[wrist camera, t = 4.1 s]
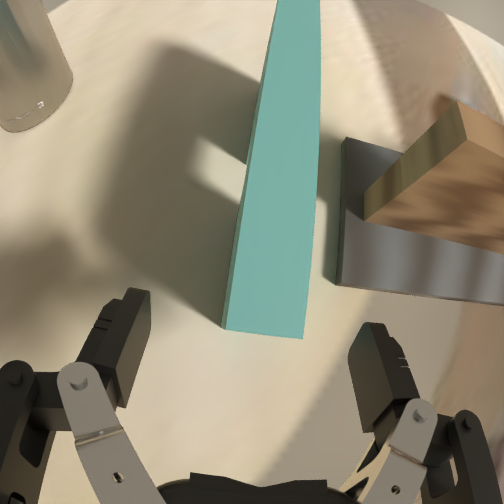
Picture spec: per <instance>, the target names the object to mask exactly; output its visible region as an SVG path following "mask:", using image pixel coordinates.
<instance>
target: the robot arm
mask: <svg viewBox="0 0 504 504" xmlns="http://www.w3.org/2000/svg"><path fill="white" fill-rule="evenodd" d="M72 81H73V74H72V71H71V69H70V67H69V65H68V63H67V60H66V58H65V56H64V54H63V51H62V49H61V46H60V44H59V42H58V39H57V37H56V35H55V32H54V30H53V28H52V25H51V23H50V20H49V18H48V15H47V13H46V10H45V8H44V5H43V3H42V0H0V125H1V126H2V127H3V128H4V129H5V130H7V131H10V132H20V131H24V130H27V129H29V128H31V127H34V126H35V125H37V124H39V123H40V122H42V121H43V120H45V119H46V118H47V117H48V116H50V115H51V114H52V113H53V112H54V111H55V110H56V109H57V108H58V107H59V106H60V104H61V103H62V102H63V101H64V99H65V98H66V96H67V94H68V93H69V91H70V88H71V86H72ZM150 330H151V305H150V292H149V291H147V290H141V289H136V288H131V287H130V288H128V290H127V292H126V294H125V296H124V298H123V300H118V299H113V300H111V301H110V302H109V303H108V304H106V305H105V306H104V307H103V309H102V311H101V312H100V314H99V316H98V319H97V320H96V322H95V324H94V327H93V328H92V330H91V332H90V334H89V335H88V337H87V339H86V341H85V343H84V345H83V347H82V349H81V351H80V354H79V356H78V358H77V359H76V361H75V362H73V363H70V364H68V365H66V366H65V367H63V368H62V369H61V371H59V372H34V371H33V369H32V368H31V366H30V365H29V364H28V363H26V362H24V361H20V360H14V361H10V362H8V363H6V364H5V365H4V366H3V367H2V368H1V369H0V504H38V499H39V495H40V490H41V486H42V482H43V478H44V474H45V470H46V466H47V462H48V458H49V455H50V451H51V448H52V444H53V441H54V438H55V434H56V431H72V432H73V435H74V438H75V447H76V450H77V453H78V455H79V458H80V460H81V462H82V465H83V467H84V470H85V472H86V474H87V476H88V479H89V481H90V483H91V485H92V487H93V489H94V491H95V494H96V496H97V498H98V500H99V502H100V504H413V503H414V501H415V499H416V496H417V494H418V492H419V490H421V497H422V504H503V503H502V498H501V493H500V489H499V485H498V481H497V477H496V473H495V469H494V465H493V462H492V458H491V455H490V451H489V448H488V444H487V441H486V438H485V435H484V432H483V429H482V426H481V423H480V420H479V419H478V417H477V416H476V415H475V414H474V413H473V412H471V411H468V410H461V411H459V412H458V413H457V414H456V415H455V416H454V417H449V416H445V415H441V414H437V412H436V410H435V408H434V407H433V406H432V405H431V404H430V403H429V402H428V401H426V400H423V399H421V398H420V396H419V393H418V390H417V388H416V385H415V382H414V379H413V376H412V374H411V371H410V368H408V363H407V361H406V360H405V355H404V353H403V350H402V348H401V346H400V345H399V344H398V343H397V341H396V340H395V339H394V338H393V337H390V336H389V334H388V331H387V329H386V326H385V325H384V324H382V323H370V322H366V323H364V324H363V325H362V327H361V329H360V331H359V332H358V334H357V336H356V338H355V340H354V342H353V344H352V345H351V347H350V350H349V353H348V364H349V369H350V373H351V378H352V383H353V387H354V392H355V396H356V401H357V405H358V410H359V415H360V420H361V425H362V430H363V433H369V432H374V435H375V438H374V439H373V440H372V441H371V443H370V444H369V446H368V448H367V450H366V451H365V453H364V455H363V457H362V458H361V460H360V462H359V464H358V465H357V467H356V468H355V470H354V471H353V473H352V475H351V476H350V477H349V478H348V480H347V481H346V482H345V483H344V484H343V485H342V486H341V487H340V489H339V490H336V489H333V488H330V487H327V480H295V481H291V482H286V483H281V484H277V485H272V486H267V487H257V486H253V485H250V484H246V483H243V482H240V481H237V480H233V479H230V478H227V477H222V476H213V475H206V474H198V473H192V472H190V479H181V480H176V481H171V482H168V483H165V484H163V485H160V486H158V487H155V485H154V483H153V482H152V480H151V478H150V477H149V475H148V473H147V471H146V470H145V468H144V466H143V464H142V463H141V461H140V459H139V457H138V455H137V453H136V452H135V450H134V448H133V446H132V444H131V442H130V440H129V438H128V436H127V434H126V432H125V430H124V429H123V427H122V426H121V424H120V422H119V420H118V418H117V416H116V414H115V411H116V408H117V406H118V407H122V408H126V406H127V403H128V400H129V396H130V393H131V390H132V387H133V384H134V380H135V377H136V374H137V371H138V368H139V365H140V362H141V359H142V356H143V353H144V350H145V347H146V344H147V341H148V338H149V335H150ZM453 457H454V461H455V465H456V470H457V474H458V482H457V485H456V486H455V484H454V479H453V474H452V470H451V465H450V461H449V460H450V459H452V458H453Z"/></svg>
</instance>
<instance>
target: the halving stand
mask: <svg viewBox="0 0 504 504" xmlns="http://www.w3.org/2000/svg"><path fill="white" fill-rule="evenodd" d="M336 285H337V286H345V287H352V288H359V289H367V290H374V291H383V292H391V293H398V294H406V295H414V296H422V297H430V298H439V299H447V300H456V301H464V302H473V303H482V304H491V305H500V306H504V126H503V125H501V124H499V123H498V122H496V121H494V120H492V119H491V118H489V117H487V116H485V115H484V114H482V113H480V112H478V111H476V110H475V109H473V108H471V107H469V106H467V105H465V104H463V103H461V102H459V101H456V102H455V103H454V104H453V105H452V106H451V107H450V108H449V109H448V110H447V111H446V112H445V113H444V114H443V115H442V116H441V117H440V118H439V119H438V120H437V121H436V122H435V123H434V124H433V125H432V126H431V127H430V128H429V129H428V130H427V131H426V132H425V133H424V134H423V135H422V136H421V137H420V138H419V139H418V140H417V141H416V142H415V143H414V144H413V145H412V146H411V147H410V148H409V149H408V150H407V151H406V152H405V153H404V154H403V153H400V152H397V151H394V150H390V149H387V148H384V147H381V146H377V145H374V144H370V143H367V142H363V141H359V140H356V139H352V138H348V137H346V138H345V140H344V141H343V143H342V158H341V204H340V227H339V245H338V260H337V273H336Z"/></svg>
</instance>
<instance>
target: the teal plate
mask: <svg viewBox="0 0 504 504" xmlns="http://www.w3.org/2000/svg"><path fill="white" fill-rule="evenodd" d="M320 97H321V27H320V0H277V5H276V9H275V14H274V19H273V23H272V28H271V33H270V38H269V42H268V47H267V52H266V57H265V62H264V66H263V71H262V76H261V81H260V86H259V91H258V97H257V103H256V108H255V114H254V120H253V126H252V131H251V137H250V143H249V149H248V155H247V161H246V165H247V170H246V176H245V182H244V187H243V192H242V196H241V201H240V206H239V212H238V217H237V223H236V229H235V235H234V242H233V248H232V255H231V261H230V268H229V275H228V281H227V288H226V295H225V302H224V309H223V316H222V323H221V328H223V329H225V330H231V331H238V332H246V333H253V334H261V335H269V336H278V337H287V338H296V339H303V333H304V325H305V316H306V307H307V298H308V289H309V279H310V269H311V258H312V247H313V235H314V223H315V209H316V194H317V177H318V158H319V134H320Z"/></svg>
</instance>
